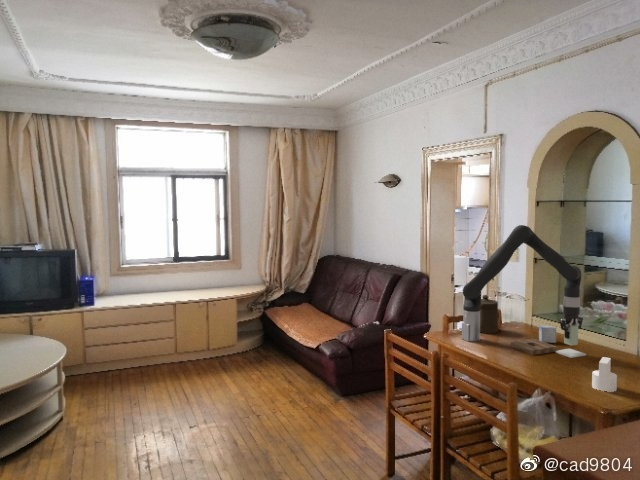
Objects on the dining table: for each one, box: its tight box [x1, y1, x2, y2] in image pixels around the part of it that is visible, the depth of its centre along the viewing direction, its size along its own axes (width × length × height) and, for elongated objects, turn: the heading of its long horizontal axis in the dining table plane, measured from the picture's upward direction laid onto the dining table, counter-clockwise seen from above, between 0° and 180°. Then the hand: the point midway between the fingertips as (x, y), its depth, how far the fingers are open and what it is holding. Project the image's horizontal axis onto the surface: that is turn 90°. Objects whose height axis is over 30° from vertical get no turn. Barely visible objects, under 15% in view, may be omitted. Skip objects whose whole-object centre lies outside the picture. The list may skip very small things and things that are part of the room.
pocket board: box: [509, 338, 558, 356], centre depth 257 cm, size 16×16×2 cm
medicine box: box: [538, 325, 557, 344], centre depth 269 cm, size 8×4×9 cm, turn 84°
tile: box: [554, 348, 587, 359], centre depth 247 cm, size 10×10×1 cm
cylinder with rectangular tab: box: [591, 356, 618, 393], centre depth 202 cm, size 9×9×12 cm
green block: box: [563, 324, 579, 346], centre depth 246 cm, size 4×4×10 cm
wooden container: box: [480, 294, 499, 334], centre depth 294 cm, size 15×15×22 cm
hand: (570, 337), depth 247 cm, fingers closed on green block, 4 cm apart
